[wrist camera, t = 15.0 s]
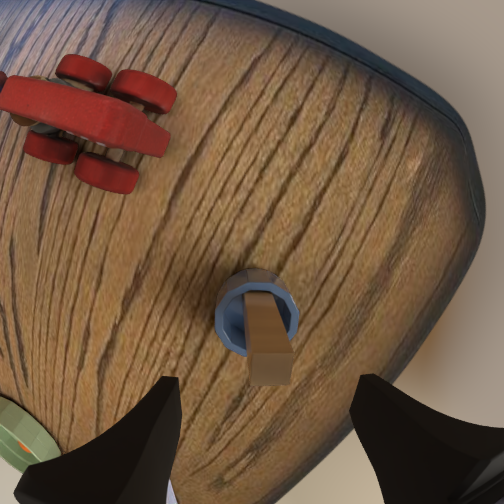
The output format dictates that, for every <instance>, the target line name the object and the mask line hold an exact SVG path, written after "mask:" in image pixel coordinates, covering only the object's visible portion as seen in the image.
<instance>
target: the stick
mask: <svg viewBox="0 0 504 504" xmlns="http://www.w3.org/2000/svg"><path fill="white" fill-rule="evenodd" d="M242 306H243V317H244V328H245V339H246V349H247V360H248V370H249V380H250V386H278V385H290V379H291V373H292V366H293V359H294V351H293V349H292V346H291V343H290V341H289V338H288V335H287V333H286V330H285V327H284V324H283V322H282V319H281V316H280V314H279V311H278V308H277V305H276V303H275V300H274V297H273V295H272V292H270V291H261V290H249V291H247V292H245V293H243V294H242Z"/></svg>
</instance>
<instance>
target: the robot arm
mask: <svg viewBox="0 0 504 504" xmlns="http://www.w3.org/2000/svg"><path fill="white" fill-rule="evenodd" d="M349 412H350V415H351V419H352V422H353V425H354V428H355V431H356V433H357V435H358V437H359V440H360V442H361V444H362V446H363V448H364V450H365V452H366V453H367V456H368V458H369V460H370V462H371V464H372V466H373V468H374V471H375V473H376V476H377V479H378V482H379V485H380V488H381V492H382V495H383V499H384V503H385V504H504V428H496V427H488V426H482V425H477V424H472V423H468V422H465V421H462V420H458V419H455V418H452V417H450V416H447V415H445V414H443V413H440V412H438V411H436V410H433V409H431V408H430V407H428V406H426V405H424V404H422V403H420V402H419V401H417V400H415V399H413V398H412V397H410V396H408V395H407V394H405V393H404V392H402V391H401V390H399V389H397V388H396V387H394V386H393V385H391V384H390V383H388V382H387V381H385V380H384V379H382V378H380V377H379V376H377V375H375V374H365V375H360V379H359V382H358V385H357V389H356V392H355V395H354V398H353V401H352V404H351V407H350V410H349ZM181 420H182V409H181V400H180V390H179V380H178V377H169V376H162V377H161V378H160V379H159V380H158V381H157V382H156V384H155V385H154V386H153V387H152V388H151V389H150V391H149V392H148V393H147V394H146V395H145V396H144V397H143V398H142V399H141V400H140V401H139V403H138V404H137V405H136V406H135V407H134V408H133V409H132V410H131V411H129V412H128V413H127V414H126V415H125V416H124V417H123V418H122V419H121V420H120V421H118V422H117V423H116V424H115V425H113V426H112V427H111V428H110V429H108V430H107V431H105V432H104V433H103V434H101V435H100V436H98V437H97V438H95V439H93V440H92V441H90V442H88V443H87V444H85V445H83V446H81V447H79V448H77V449H75V450H73V451H71V452H69V453H66V454H64V455H61V456H59V457H56V458H53V459H50V460H47V461H43V462H40V463H36V464H32V465H29V466H28V467H27V468H26V470H25V471H24V473H23V475H22V477H21V479H20V481H19V482H18V485H17V487H16V488H15V490H14V496H15V498H16V500H17V501H18V502H19V503H20V504H177V501H176V498H175V495H174V492H173V488H172V485H171V481H170V474H171V470H172V466H173V462H174V457H175V453H176V449H177V445H178V441H179V437H180V429H181Z"/></svg>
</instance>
